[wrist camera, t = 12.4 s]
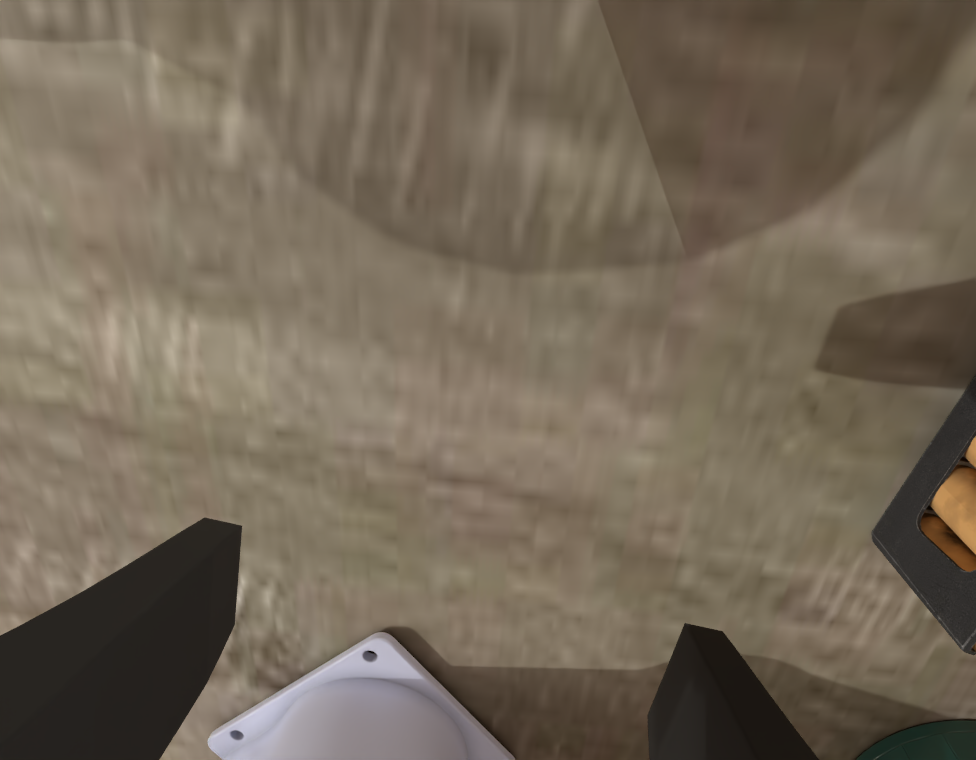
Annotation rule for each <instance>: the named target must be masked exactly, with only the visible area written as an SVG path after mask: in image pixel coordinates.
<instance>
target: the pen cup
mask: <svg viewBox="0 0 976 760" xmlns="http://www.w3.org/2000/svg"><path fill="white" fill-rule="evenodd" d="M856 760H976V721H970V720H953V721H941V722H934V723H928V724H924V725H919V726H915V727H912V728H909V729H906V730H903V731H900V732H898V733H895V734H893V735H891V736H889V737H886V738H885V739H883V740H881V741H879V742H878V743H876V744H874V745H873V746H871V747H870V748H869V749H867V750H866V751H864V752H863V753H862V754H861V755H860V756H859V757H858V758H857V759H856Z"/></svg>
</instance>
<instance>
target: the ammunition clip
mask: <svg viewBox="0 0 976 760" xmlns="http://www.w3.org/2000/svg"><path fill="white" fill-rule="evenodd" d="M872 541H873V542H874V544H875V545H876V546H877V547H878V549H879V550H880V551H881V552H882V553H883V555H884V556H885V557H886V558H887V560H888V561H889V562H890V563H891V564H892V566H893V567H894V568H895V569H896V570H897V572H898V573H899V574H900V575H901V577H902V578H903V579H904V580H905V581H906V583H907V584H908V585H909V586H910V588H911V589H912V590H913V591H914V592H915V594H916V595H917V596H918V597H919V598H920V600H921V601H922V602H923V603H924V605H925V606H926V607H927V608H928V609H929V611H930V612H931V613H932V614H933V616H934V617H935V618H936V619H937V620H938V622H939V623H940V624H941V625H942V627H943V628H944V629H945V630H946V631H947V633H948V634H949V635H950V636H951V637H952V639H953V640H954V641H955V642H956V644H957V645H958V646H959V647H960V648H961V650H963V651H964V652H966V653H969V654H972V655H975V654H976V376H975V377H974V379H973V380H972V382H971V383H970V385H969V386H968V388H967V389H966V391H965V392H964V394H963V395H962V397H961V398H960V400H959V401H958V403H957V404H956V406H955V407H954V409H953V410H952V412H951V413H950V415H949V416H948V418H947V419H946V421H945V422H944V424H943V425H942V427H941V428H940V430H939V431H938V433H937V434H936V436H935V437H934V439H933V440H932V442H931V443H930V445H929V446H928V448H927V449H926V451H925V452H924V454H923V455H922V457H921V458H920V460H919V462H918V463H917V465H916V466H915V468H914V469H913V471H912V472H911V474H910V475H909V477H908V478H907V480H906V481H905V483H904V484H903V486H902V487H901V489H900V490H899V492H898V493H897V495H896V496H895V498H894V499H893V501H892V502H891V504H890V505H889V507H888V508H887V510H886V511H885V513H884V514H883V516H882V517H881V519H880V520H879V522H878V523H877V525H876V526H875V528H874V529H873V531H872Z"/></svg>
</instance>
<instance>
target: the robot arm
mask: <svg viewBox="0 0 976 760" xmlns="http://www.w3.org/2000/svg"><path fill="white" fill-rule="evenodd" d="M241 532H242V526H241V525H236V524H232V523H227V522H222V521H218V520H213V519H209V518H203V519H202V520H200V521H198V522H197V523H195V524H193V525H192V526H190V527H188V528H186V529H185V530H183V531H181V532H180V533H178V534H177V535H175V536H173V537H172V538H170V539H169V540H167V541H165V542H164V543H162V544H161V545H159V546H157V547H156V548H154V549H153V550H151V551H149V552H148V553H146V554H144V555H143V556H141V557H140V558H138V559H136V560H135V561H133V562H131V563H130V564H128V565H127V566H125V567H123V568H122V569H120V570H118V571H116V572H115V573H113V574H111V575H110V576H108V577H106V578H105V579H103V580H101V581H100V582H98V583H96V584H95V585H93V586H91V587H90V588H88V589H86V590H84V591H83V592H81V593H79V594H77V595H76V596H74V597H72V598H70V599H68V600H67V601H65V602H63V603H61V604H59V605H57V606H55V607H54V608H52V609H50V610H48V611H46V612H44V613H43V614H41V615H39V616H37V617H35V618H33V619H31V620H30V621H28V622H26V623H24V624H22V625H20V626H19V627H17V628H15V629H13V630H11V631H9V632H7V633H5V634H3V635H1V636H0V760H159V759H160V757H161V756H162V754H163V753H164V751H165V750H166V748H167V746H168V745H169V743H170V742H171V740H172V738H173V737H174V735H175V734H176V732H177V731H178V729H179V727H180V726H181V724H182V723H183V721H184V719H185V718H186V716H187V715H188V713H189V711H190V710H191V708H192V707H193V705H194V703H195V702H196V700H197V698H198V697H199V695H200V694H201V692H202V690H203V689H204V687H205V685H206V684H207V682H208V680H209V678H210V675H211V673H212V671H213V669H214V667H215V665H216V663H217V661H218V659H219V657H220V655H221V653H222V651H223V649H224V646H225V644H226V642H227V640H228V638H229V636H230V634H231V631H232V629H233V627H234V625H235V613H236V599H237V586H238V573H239V559H240V546H241ZM368 650H369V651H373V652H375V653H376V654H372V653H369V652H368ZM648 738H649V758H650V760H819V759H818V758H817V757H816V755H815V754H814V753H813V751H812V750H811V749H810V748H809V746H808V745H807V744H806V743H805V741H804V740H803V739H802V737H801V736H800V735H799V733H798V732H797V731H796V729H795V728H794V727H793V726H792V724H791V723H790V722H789V720H788V719H787V718H786V716H785V715H784V714H783V712H782V711H781V710H780V708H779V707H778V706H777V704H776V703H775V701H774V700H773V699H772V697H771V696H770V695H769V693H768V692H767V691H766V689H765V688H764V686H763V685H762V684H761V682H760V681H759V680H758V678H757V677H756V676H755V674H754V673H753V671H752V670H751V669H750V667H749V666H748V665H747V663H746V662H745V660H744V659H743V658H742V656H741V655H740V654H739V652H738V651H737V650H736V648H735V647H734V646H733V644H732V643H731V642H730V640H729V639H728V638H727V637H726V635H725V634H724V633H723V631H718V630H714V629H709V628H704V627H700V626H695V625H691V624H686V623H685V624H684V627H683V629H682V632H681V634H680V637H679V639H678V642H677V644H676V647H675V649H674V652H673V654H672V656H671V659H670V661H669V664H668V666H667V669H666V671H665V674H664V676H663V679H662V681H661V684H660V686H659V688H658V691H657V693H656V696H655V698H654V701H653V703H652V706H651V708H650V711H649V713H648ZM208 745H209V747H210V749H211V750H212V751H213V752H215V753H216V754H217V755H218V756H219V757H221V758H222V759H223V760H516V759H515V758H514V756H513V755H512V754H511V753H510V752H509V751H508V750H507V749H506V748H505V747H503V746H502V745H501V744H500V743H499V742H498V741H497V740H496V739H495V738H494V737H493V736H492V735H491V734H490V733H489V732H488V731H487V730H486V729H485V728H484V727H483V726H482V725H481V724H480V723H479V722H478V721H477V720H476V719H475V718H474V717H473V716H472V715H471V714H470V713H469V712H468V711H467V710H466V709H465V708H464V707H463V706H462V705H461V704H460V703H459V702H458V701H457V700H456V699H455V698H454V697H453V696H452V695H451V694H450V693H449V692H448V691H447V690H446V689H445V688H444V687H443V686H442V685H441V684H440V683H439V682H438V681H437V680H436V679H435V678H434V677H433V676H432V675H431V674H430V673H429V672H428V671H427V670H426V669H425V668H424V667H423V666H422V665H421V664H420V663H419V662H418V661H417V660H416V659H415V658H414V657H413V656H412V655H411V654H410V653H409V652H408V651H407V650H406V649H405V648H404V647H403V646H402V645H401V644H400V643H399V642H398V641H397V640H396V639H395V638H394V637H393V636H391V635H390V634H388V633H385V632H377V633H374V634H372V635H371V636H369V637H367V638H366V639H364V640H362V641H361V642H359V643H357V644H356V645H354V646H353V647H351V648H349V649H348V650H346V651H344V652H343V653H341V654H339V655H338V656H336V657H334V658H333V659H331V660H329V661H328V662H326V663H324V664H323V665H321V666H319V667H318V668H316V669H315V670H313V671H311V672H310V673H308V674H306V675H305V676H303V677H301V678H300V679H298V680H296V681H295V682H293V683H291V684H290V685H288V686H286V687H285V688H283V689H281V690H280V691H278V692H276V693H275V694H273V695H272V696H270V697H268V698H267V699H265V700H263V701H262V702H260V703H258V704H257V705H255V706H253V707H252V708H250V709H248V710H247V711H245V712H243V713H242V714H240V715H238V716H237V717H235V718H234V719H232V720H230V721H229V722H227V723H225V724H224V725H222V726H220V727H219V728H217V729H215V730H214V731H213V732H212V733H211V735H210V737H209V739H208Z"/></svg>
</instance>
